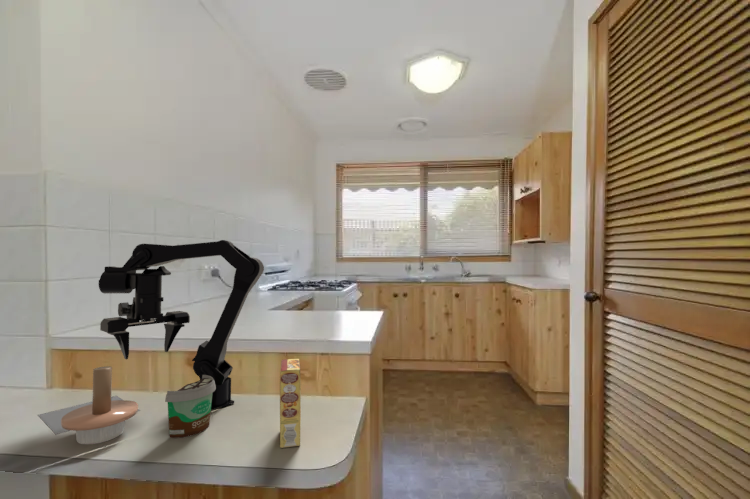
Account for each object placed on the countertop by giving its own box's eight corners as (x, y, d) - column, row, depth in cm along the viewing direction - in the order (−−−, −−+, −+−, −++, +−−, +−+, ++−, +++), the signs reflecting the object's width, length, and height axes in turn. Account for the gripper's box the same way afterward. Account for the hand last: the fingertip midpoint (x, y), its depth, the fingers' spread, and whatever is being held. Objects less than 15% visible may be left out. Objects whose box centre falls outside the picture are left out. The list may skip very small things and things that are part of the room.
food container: (190, 444, 75) (191, 394, 75) (164, 441, 76) (165, 391, 77) (226, 418, 87) (227, 375, 88) (203, 416, 88) (204, 374, 89)
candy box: (300, 446, 74) (301, 369, 75) (278, 449, 73) (279, 370, 74) (299, 427, 83) (300, 357, 83) (280, 429, 82) (280, 359, 82)
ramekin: (116, 424, 84) (117, 405, 84) (133, 435, 79) (134, 414, 79) (67, 439, 77) (68, 418, 77) (82, 452, 72) (83, 429, 72)
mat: (116, 397, 101) (116, 395, 101) (140, 411, 91) (140, 410, 91) (37, 416, 88) (37, 414, 88) (55, 436, 78) (55, 434, 78)
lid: (98, 403, 85) (99, 359, 86) (151, 405, 84) (152, 361, 84) (42, 429, 72) (44, 377, 73) (105, 432, 71) (106, 379, 72)
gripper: (172, 289, 107) (171, 344, 106) (93, 294, 92) (91, 357, 92) (191, 291, 100) (190, 350, 100) (109, 296, 85) (107, 365, 85)
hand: (147, 355), depth 94 cm, fingers open, 9 cm apart
